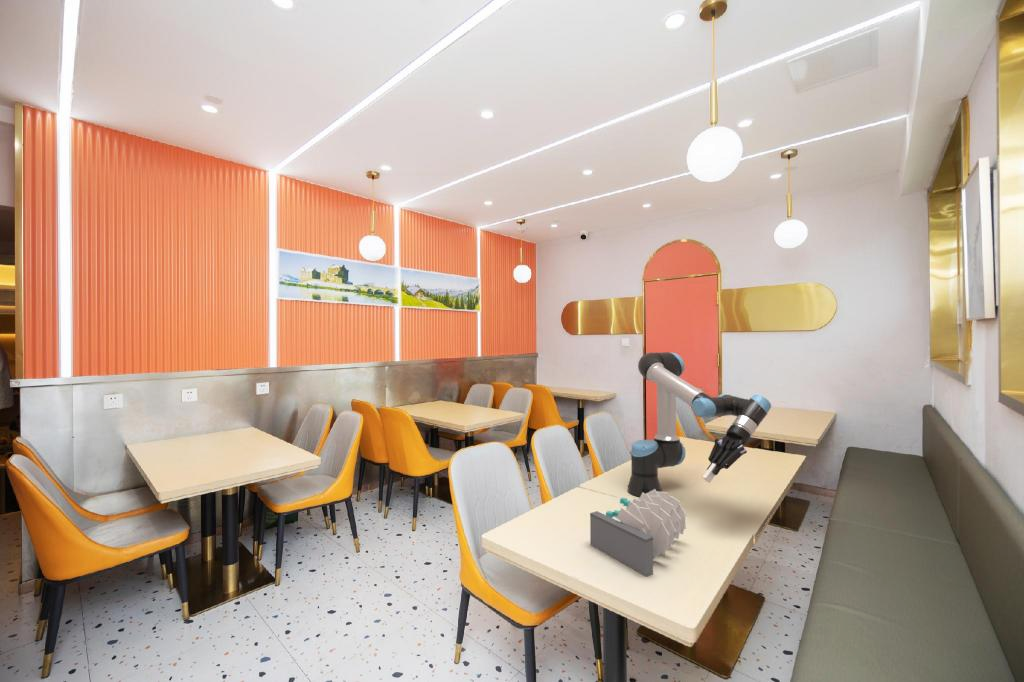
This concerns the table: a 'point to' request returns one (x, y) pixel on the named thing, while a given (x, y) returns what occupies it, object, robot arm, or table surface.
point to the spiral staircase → (656, 518)
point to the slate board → (622, 542)
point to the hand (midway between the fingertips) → (706, 479)
